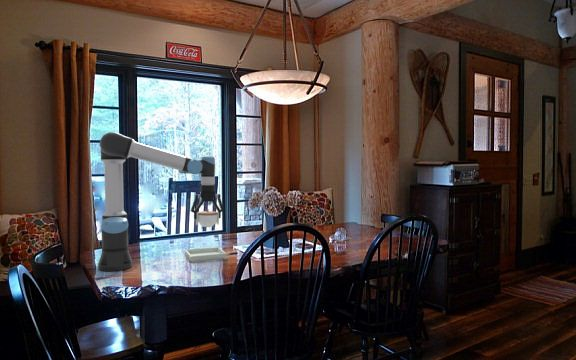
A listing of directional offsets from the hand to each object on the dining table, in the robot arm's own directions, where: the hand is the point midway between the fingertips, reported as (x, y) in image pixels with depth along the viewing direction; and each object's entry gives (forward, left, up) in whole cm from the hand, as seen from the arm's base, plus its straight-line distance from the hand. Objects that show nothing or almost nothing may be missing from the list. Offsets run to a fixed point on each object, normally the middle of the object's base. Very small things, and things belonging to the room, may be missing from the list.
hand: (207, 224), depth 225 cm
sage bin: (-3, -7, -16) cm, 18 cm away
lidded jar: (0, 0, -1) cm, 1 cm away
